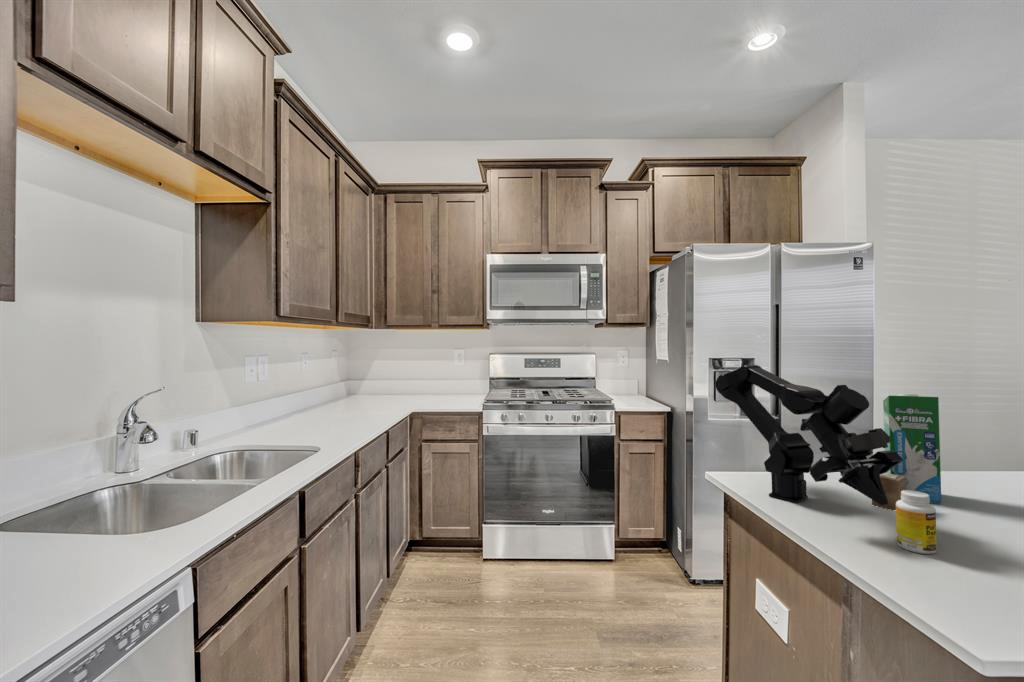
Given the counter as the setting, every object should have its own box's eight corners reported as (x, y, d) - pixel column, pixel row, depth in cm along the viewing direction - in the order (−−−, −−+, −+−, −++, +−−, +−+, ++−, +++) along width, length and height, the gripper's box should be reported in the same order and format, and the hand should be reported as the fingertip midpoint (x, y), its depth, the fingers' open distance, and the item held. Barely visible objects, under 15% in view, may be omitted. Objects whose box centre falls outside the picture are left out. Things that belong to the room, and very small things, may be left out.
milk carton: (932, 492, 113) (929, 392, 113) (941, 504, 105) (938, 396, 106) (885, 487, 118) (882, 391, 118) (891, 497, 110) (888, 394, 110)
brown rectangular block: (871, 505, 106) (871, 474, 106) (879, 501, 109) (878, 470, 109) (899, 512, 102) (898, 479, 102) (906, 507, 104) (905, 475, 104)
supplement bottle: (931, 558, 80) (929, 500, 80) (892, 547, 85) (890, 492, 85) (941, 549, 83) (939, 494, 83) (902, 539, 88) (901, 486, 88)
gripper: (821, 418, 92) (876, 489, 82) (892, 412, 97) (954, 480, 86) (789, 447, 100) (836, 516, 90) (857, 441, 104) (909, 506, 94)
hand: (885, 504), depth 90 cm, fingers closed
